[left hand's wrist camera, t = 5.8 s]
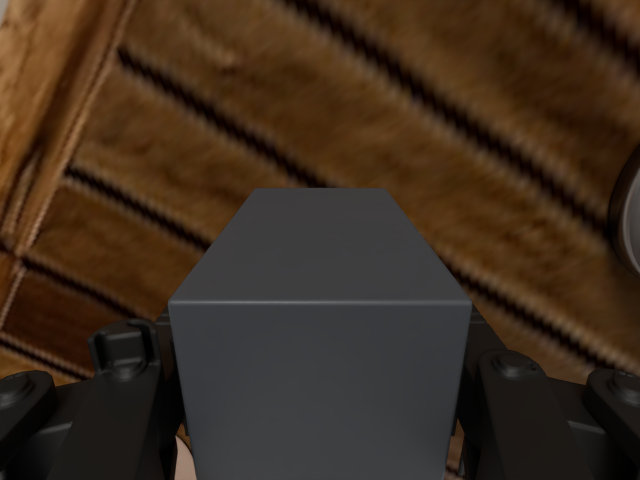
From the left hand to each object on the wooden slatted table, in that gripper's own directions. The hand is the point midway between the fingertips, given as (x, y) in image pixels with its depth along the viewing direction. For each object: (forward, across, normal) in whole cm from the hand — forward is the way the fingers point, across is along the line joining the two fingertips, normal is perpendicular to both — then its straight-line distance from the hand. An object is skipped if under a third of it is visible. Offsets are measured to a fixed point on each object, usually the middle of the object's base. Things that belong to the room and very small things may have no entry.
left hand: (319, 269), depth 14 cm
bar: (+1, 0, -8) cm, 9 cm away
